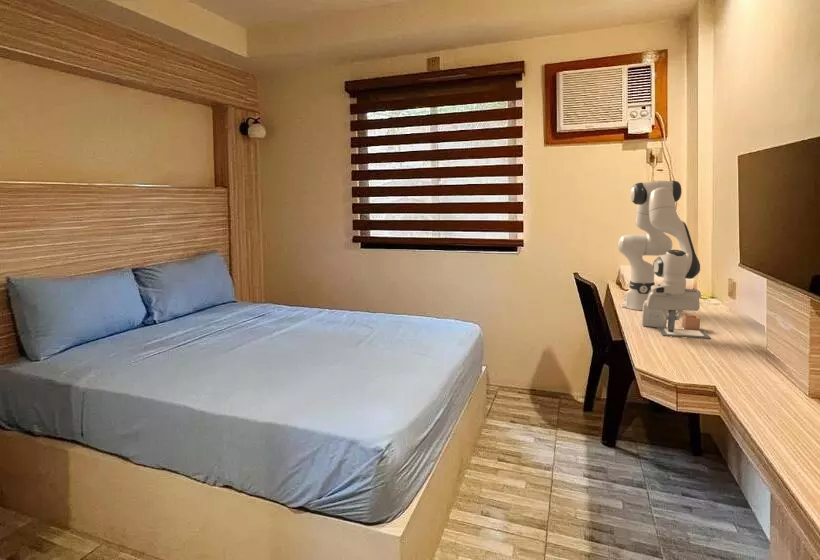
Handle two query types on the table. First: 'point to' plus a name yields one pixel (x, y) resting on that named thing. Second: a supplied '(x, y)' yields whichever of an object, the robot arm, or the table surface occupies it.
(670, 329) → the marker
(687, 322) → the pen holder
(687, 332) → the writing board
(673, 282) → the robot arm
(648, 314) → the photo printer
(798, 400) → the table surface
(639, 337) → the table surface
